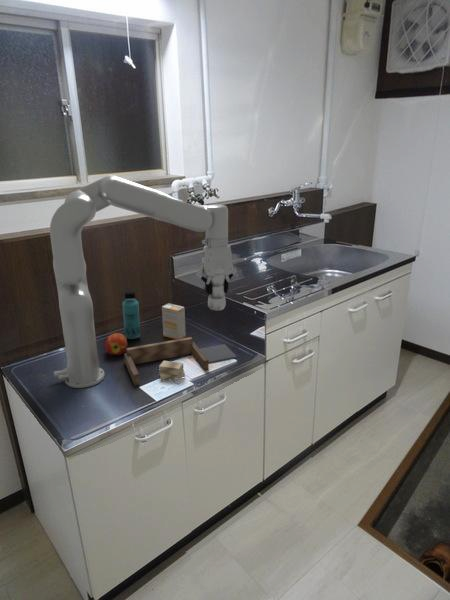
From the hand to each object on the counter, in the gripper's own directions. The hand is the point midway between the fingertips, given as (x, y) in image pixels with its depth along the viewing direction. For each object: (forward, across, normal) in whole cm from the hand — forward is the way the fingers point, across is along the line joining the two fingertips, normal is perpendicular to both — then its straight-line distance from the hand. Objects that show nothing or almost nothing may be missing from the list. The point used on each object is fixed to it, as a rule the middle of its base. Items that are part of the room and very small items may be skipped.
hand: (216, 292), depth 149 cm
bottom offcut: (+25, -20, -9) cm, 33 cm away
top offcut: (+22, -20, -9) cm, 31 cm away
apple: (+25, -34, +15) cm, 45 cm away
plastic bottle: (+7, 0, 0) cm, 7 cm away
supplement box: (+25, -10, +21) cm, 34 cm away
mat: (+24, 0, 0) cm, 24 cm away
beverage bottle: (+25, -26, +25) cm, 44 cm away
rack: (+24, -20, -2) cm, 32 cm away
